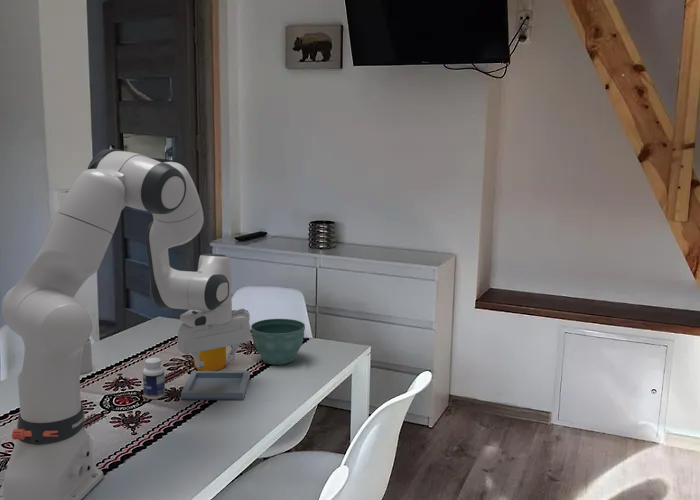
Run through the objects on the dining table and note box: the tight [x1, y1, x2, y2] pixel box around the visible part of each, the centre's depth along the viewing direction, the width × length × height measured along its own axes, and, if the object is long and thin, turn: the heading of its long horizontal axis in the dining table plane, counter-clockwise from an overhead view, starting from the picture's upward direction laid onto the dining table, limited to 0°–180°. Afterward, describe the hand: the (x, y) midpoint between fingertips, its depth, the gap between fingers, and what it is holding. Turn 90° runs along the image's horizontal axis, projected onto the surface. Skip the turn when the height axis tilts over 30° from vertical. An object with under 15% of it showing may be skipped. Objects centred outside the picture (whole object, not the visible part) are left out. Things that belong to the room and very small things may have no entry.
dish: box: [180, 370, 251, 401], centre depth 192 cm, size 16×16×2 cm
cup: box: [80, 338, 93, 375], centre depth 202 cm, size 7×10×9 cm
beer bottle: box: [193, 346, 227, 371], centre depth 206 cm, size 9×9×29 cm
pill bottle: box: [142, 357, 166, 400], centre depth 185 cm, size 5×5×10 cm
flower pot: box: [250, 318, 306, 366], centre depth 214 cm, size 16×16×11 cm
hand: (215, 363), depth 190 cm, fingers open, 8 cm apart
